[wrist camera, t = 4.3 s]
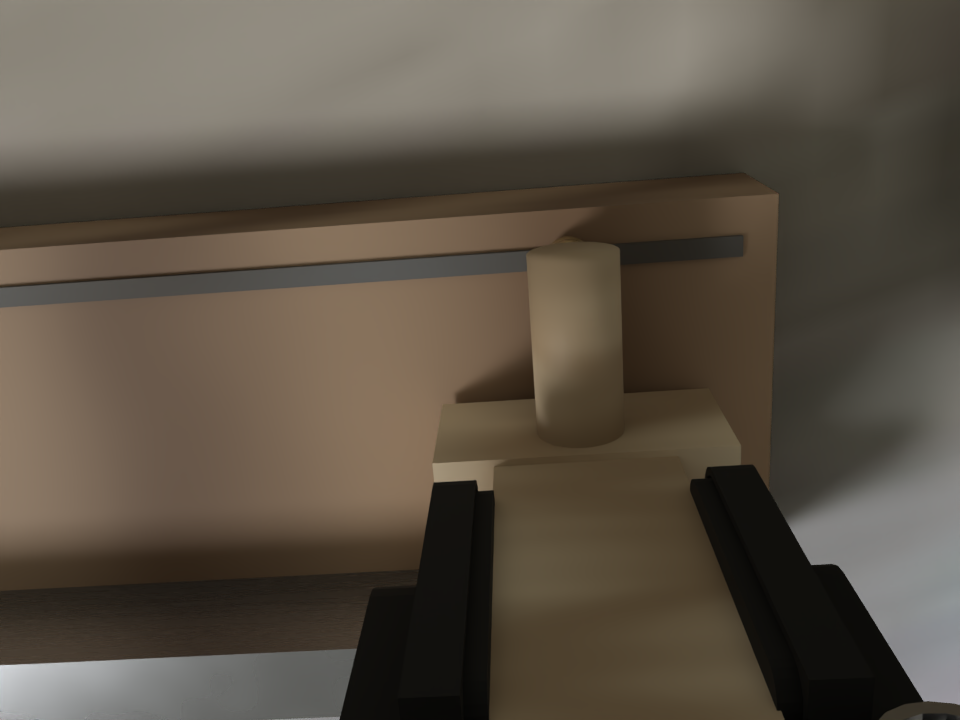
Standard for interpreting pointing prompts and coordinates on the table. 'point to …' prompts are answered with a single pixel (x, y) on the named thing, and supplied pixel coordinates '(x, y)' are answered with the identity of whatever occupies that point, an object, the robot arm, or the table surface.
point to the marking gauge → (601, 523)
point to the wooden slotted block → (302, 418)
